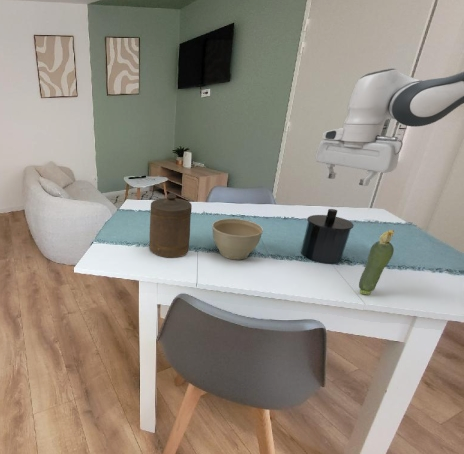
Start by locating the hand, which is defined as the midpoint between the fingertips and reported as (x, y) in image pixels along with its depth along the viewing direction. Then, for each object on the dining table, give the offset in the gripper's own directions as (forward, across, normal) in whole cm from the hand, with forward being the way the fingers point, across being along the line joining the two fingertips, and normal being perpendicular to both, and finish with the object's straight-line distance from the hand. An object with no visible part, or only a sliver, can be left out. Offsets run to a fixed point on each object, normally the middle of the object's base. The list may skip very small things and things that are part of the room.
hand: (346, 181), depth 88 cm
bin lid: (+15, +2, -2) cm, 15 cm away
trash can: (+27, +2, -2) cm, 27 cm away
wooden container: (+28, +28, +43) cm, 59 cm away
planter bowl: (+28, +16, +24) cm, 40 cm away
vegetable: (+28, -18, +7) cm, 33 cm away
